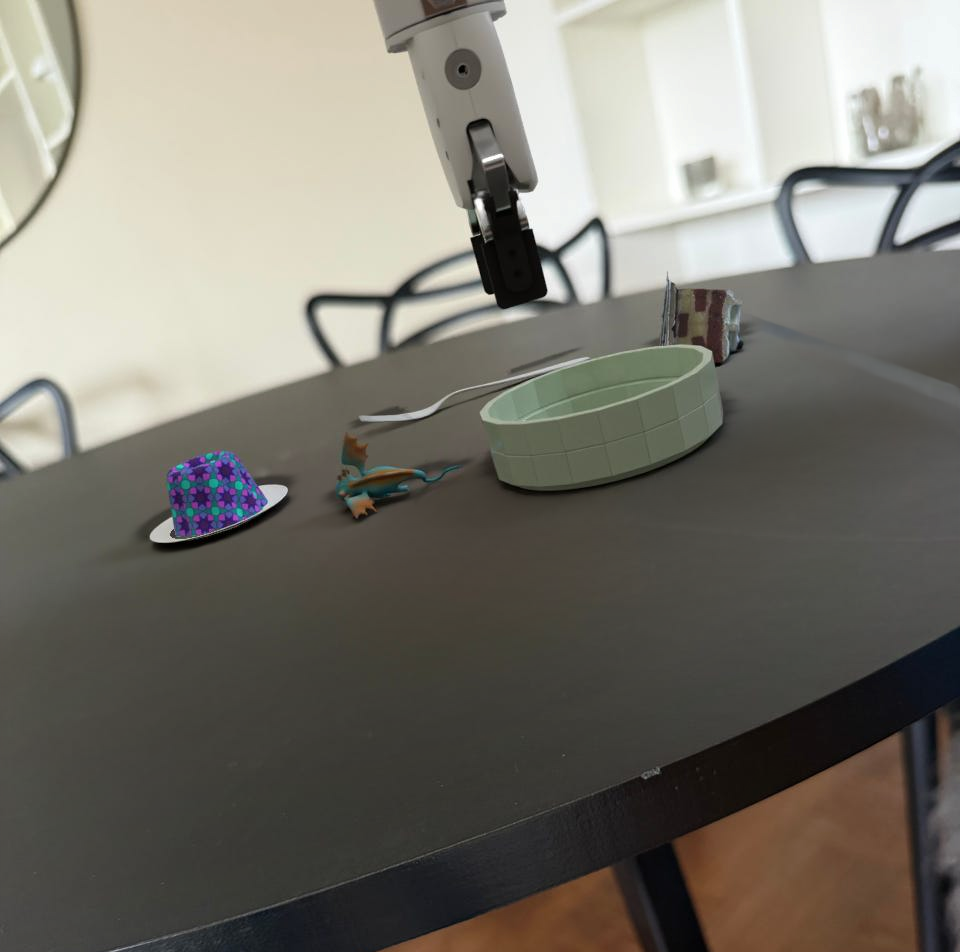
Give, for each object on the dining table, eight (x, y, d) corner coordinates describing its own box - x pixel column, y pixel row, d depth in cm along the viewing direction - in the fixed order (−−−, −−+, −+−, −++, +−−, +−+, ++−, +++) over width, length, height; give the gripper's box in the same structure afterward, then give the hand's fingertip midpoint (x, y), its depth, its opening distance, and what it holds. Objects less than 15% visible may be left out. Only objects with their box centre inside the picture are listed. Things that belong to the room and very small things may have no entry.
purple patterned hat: (319, 488, 86) (297, 429, 84) (218, 549, 78) (191, 485, 76) (226, 496, 94) (204, 442, 92) (124, 552, 85) (98, 494, 83)
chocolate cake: (748, 369, 84) (753, 245, 87) (661, 365, 85) (669, 242, 88) (731, 426, 93) (737, 311, 96) (653, 422, 94) (661, 308, 97)
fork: (595, 360, 103) (591, 342, 102) (367, 438, 99) (361, 420, 99) (584, 357, 105) (580, 340, 105) (362, 433, 102) (356, 415, 102)
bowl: (689, 397, 80) (676, 333, 78) (756, 443, 65) (743, 366, 63) (489, 456, 81) (472, 394, 78) (511, 516, 66) (490, 441, 64)
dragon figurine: (415, 456, 83) (321, 452, 79) (457, 423, 76) (358, 417, 72) (425, 535, 82) (331, 535, 78) (469, 508, 75) (369, 507, 71)
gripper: (516, -44, 53) (592, 290, 60) (487, 10, 69) (551, 269, 76) (378, 1, 53) (469, 328, 60) (381, 45, 69) (454, 300, 76)
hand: (515, 295), depth 68 cm, fingers open, 9 cm apart
